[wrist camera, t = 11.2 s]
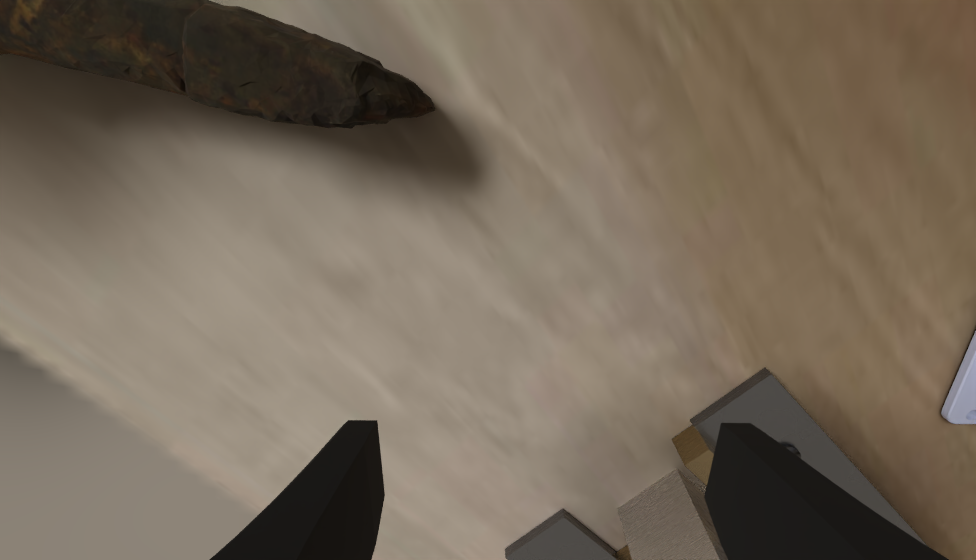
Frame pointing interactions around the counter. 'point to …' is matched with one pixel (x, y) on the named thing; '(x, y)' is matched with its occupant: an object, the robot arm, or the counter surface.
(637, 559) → the aluminum bar stock
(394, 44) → the counter surface
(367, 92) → the brown wooden log
